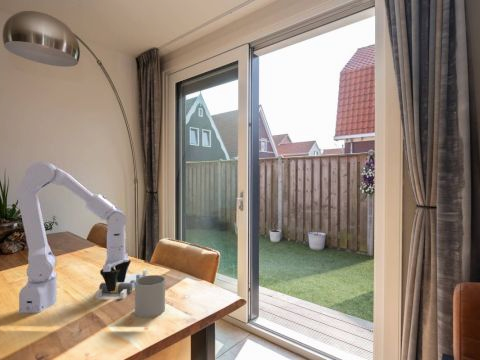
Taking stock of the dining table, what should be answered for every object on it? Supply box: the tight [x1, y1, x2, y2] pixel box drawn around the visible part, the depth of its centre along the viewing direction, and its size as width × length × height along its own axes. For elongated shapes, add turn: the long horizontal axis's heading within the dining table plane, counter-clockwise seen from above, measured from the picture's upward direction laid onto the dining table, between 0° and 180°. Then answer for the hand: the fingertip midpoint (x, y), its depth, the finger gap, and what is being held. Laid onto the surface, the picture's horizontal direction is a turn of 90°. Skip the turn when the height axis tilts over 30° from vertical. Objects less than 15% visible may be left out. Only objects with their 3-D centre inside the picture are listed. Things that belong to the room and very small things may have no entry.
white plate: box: [94, 268, 149, 300], centre depth 103 cm, size 24×9×4 cm, turn 0°
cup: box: [134, 274, 166, 319], centre depth 83 cm, size 8×8×10 cm
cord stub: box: [98, 282, 134, 294], centre depth 96 cm, size 10×3×3 cm, turn 90°
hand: (116, 286), depth 96 cm, fingers open, 7 cm apart
